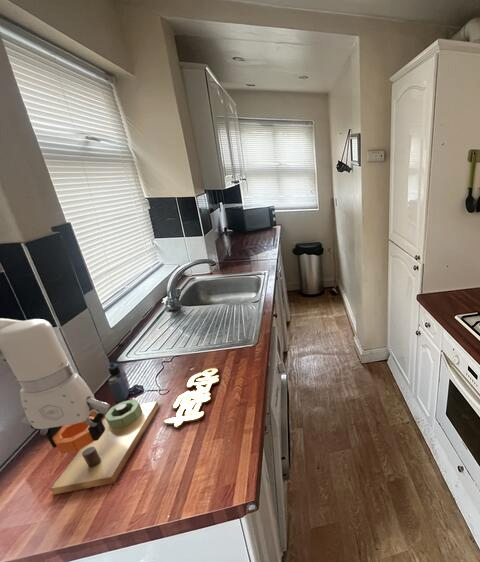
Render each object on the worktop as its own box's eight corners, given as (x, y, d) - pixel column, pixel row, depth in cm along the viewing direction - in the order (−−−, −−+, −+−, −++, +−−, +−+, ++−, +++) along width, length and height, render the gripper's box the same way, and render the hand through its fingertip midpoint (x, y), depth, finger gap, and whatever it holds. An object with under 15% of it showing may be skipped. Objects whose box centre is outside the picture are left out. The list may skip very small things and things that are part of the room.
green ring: (103, 430, 82) (99, 422, 81) (118, 410, 89) (114, 402, 88) (133, 425, 84) (130, 417, 82) (146, 406, 90) (142, 398, 89)
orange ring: (50, 455, 66) (44, 445, 65) (73, 429, 73) (68, 419, 72) (88, 449, 68) (83, 439, 67) (107, 423, 74) (103, 414, 73)
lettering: (194, 372, 107) (193, 370, 106) (224, 368, 108) (224, 366, 108) (161, 430, 84) (160, 428, 84) (200, 424, 85) (199, 421, 85)
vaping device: (130, 390, 99) (118, 360, 95) (125, 401, 95) (111, 370, 90) (121, 392, 98) (107, 362, 94) (115, 404, 94) (100, 372, 89)
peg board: (53, 494, 69) (42, 476, 66) (114, 413, 90) (107, 397, 88) (114, 482, 71) (104, 464, 68) (159, 406, 93) (153, 390, 90)
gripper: (-21, 396, 59) (21, 461, 65) (84, 382, 62) (114, 445, 69) (13, 371, 65) (48, 432, 72) (106, 360, 69) (131, 419, 75)
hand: (80, 438), depth 70 cm, fingers closed on orange ring, 7 cm apart
